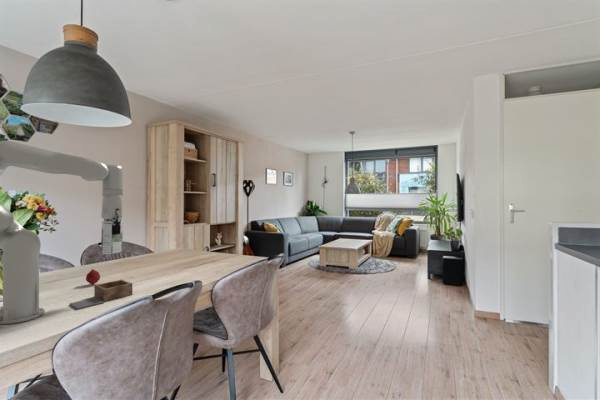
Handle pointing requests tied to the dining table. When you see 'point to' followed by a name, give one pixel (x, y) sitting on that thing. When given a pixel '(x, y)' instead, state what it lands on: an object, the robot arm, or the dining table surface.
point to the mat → (86, 303)
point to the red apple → (93, 277)
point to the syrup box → (111, 239)
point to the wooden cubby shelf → (112, 290)
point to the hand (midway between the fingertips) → (112, 233)
